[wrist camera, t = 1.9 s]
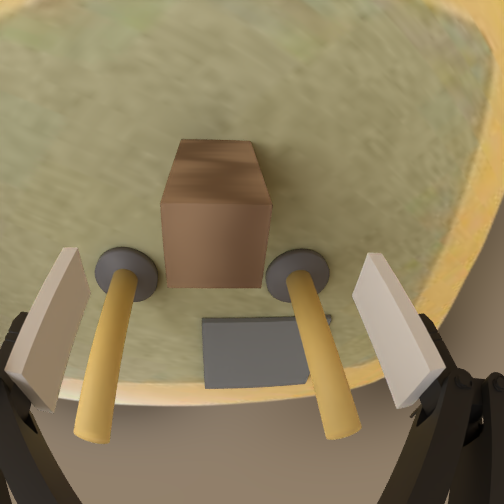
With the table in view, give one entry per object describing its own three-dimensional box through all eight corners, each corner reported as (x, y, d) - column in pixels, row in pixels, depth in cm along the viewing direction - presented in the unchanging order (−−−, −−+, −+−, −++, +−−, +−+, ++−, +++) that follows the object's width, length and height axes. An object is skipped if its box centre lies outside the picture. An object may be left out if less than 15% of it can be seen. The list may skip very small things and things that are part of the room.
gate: (104, 295, 30) (68, 445, 17) (91, 246, 26) (31, 409, 13) (319, 296, 32) (367, 439, 20) (333, 249, 29) (402, 403, 16)
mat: (205, 385, 41) (205, 388, 40) (201, 318, 33) (202, 322, 32) (304, 380, 43) (305, 383, 42) (330, 315, 35) (331, 319, 34)
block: (181, 200, 25) (167, 287, 17) (181, 139, 22) (160, 203, 14) (245, 201, 25) (260, 288, 17) (250, 141, 22) (272, 205, 14)
